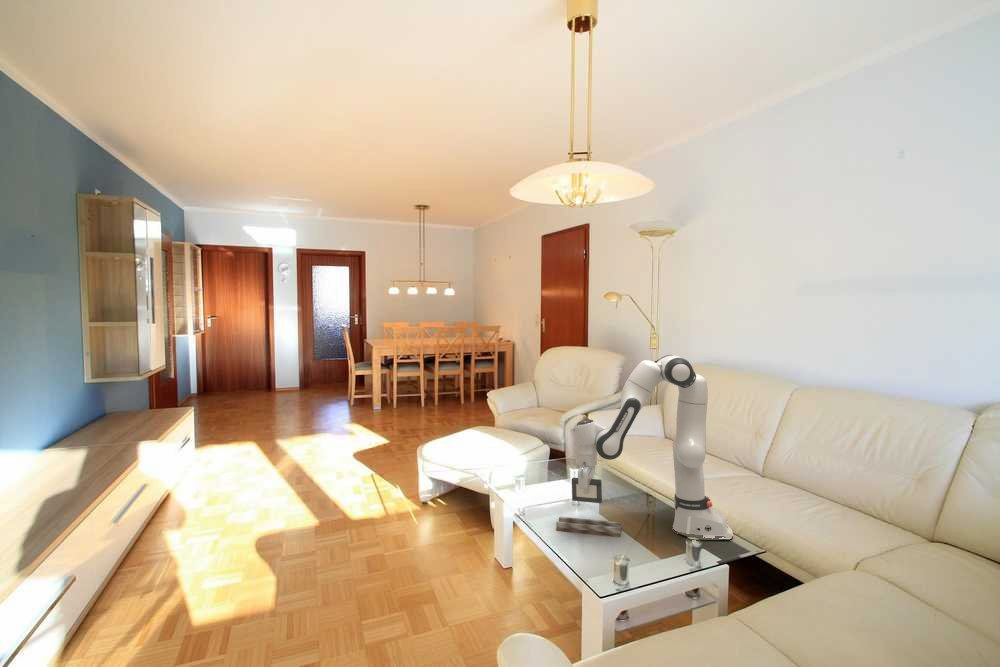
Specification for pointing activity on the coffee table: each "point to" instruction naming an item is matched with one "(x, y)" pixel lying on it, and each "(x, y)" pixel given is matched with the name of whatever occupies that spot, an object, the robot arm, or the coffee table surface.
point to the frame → (594, 491)
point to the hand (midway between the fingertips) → (586, 492)
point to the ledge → (589, 526)
